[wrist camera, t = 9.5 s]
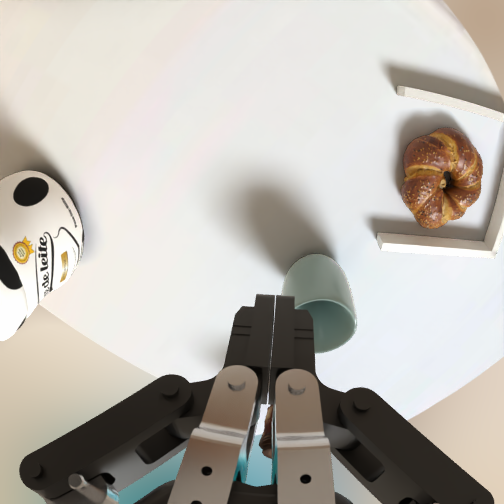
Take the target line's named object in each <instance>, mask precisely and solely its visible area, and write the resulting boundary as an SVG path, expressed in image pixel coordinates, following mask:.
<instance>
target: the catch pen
mask: <svg viewBox="0 0 504 504" xmlns="http://www.w3.org/2000/svg"><path fill="white" fill-rule="evenodd" d="M397 95H400V96H405V97H410V98H415V99H420V100H424V101H429V102H433V103H438V104H442V105H446V106H450V107H454V108H458V109H461V110H465V111H469V112H472V113H476V114H479V115H482V116H486V117H489V118H492V119H495V120H498V121H501V122H504V113H501V112H498V111H495V110H492V109H489V108H486V107H483V106H480V105H477V104H473V103H470V102H467V101H463V100H460V99H456V98H452V97H448V96H445V95H441V94H436V93H432V92H428V91H424V90H419V89H414V88H409V87H404V86H397ZM503 234H504V169H503V173H502V178H501V182H500V186H499V191H498V195H497V198H496V202H495V206H494V210H493V213H492V217H491V220H490V223H489V227H488V230H487V233H486V236H485V239H484V242H482V241H472V240H462V239H451V238H440V237H429V236H417V235H405V234H392V233H380V232H378V234H377V239H376V240H377V242H378V245H379V247H380V249H381V251H393V252H408V253H423V254H438V255H452V256H467V257H481V258H494V259H495V257H496V254H497V251H498V249H499V246H500V243H501V240H502V237H503Z"/></svg>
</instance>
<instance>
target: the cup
mask: <svg viewBox="0 0 504 504" xmlns="http://www.w3.org/2000/svg"><path fill="white" fill-rule="evenodd" d="M281 295H283V296H295V309H302V310H308V312H309V313H310V315H311V317H312V318H313V327H314V330H313V332H314V349H315V353H324V352H328V351H332V350H334V349H336V348H339V347H340V346H342V345H344V344H345V343H346V342H348V341H349V340H350V339H351V337H352V336H353V335H354V333H355V331H356V328H357V317H356V310H355V305H354V300H353V296H352V292H351V288H350V285H349V282H348V280H347V277H346V275H345V273H344V271H343V270H342V268H341V267H340V265H339V264H338V263H337V262H336V261H335V260H333V259H332V258H330V257H328V256H326V255H323V254H310V255H307V256H304V257H302V258H301V259H299V260H297V261H296V262H295V263H294V264H293V265H292V266H291V267H290V269H289V270H288V272H287V274H286V276H285V279H284V283H283V287H282V293H281Z"/></svg>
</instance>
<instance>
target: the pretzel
mask: <svg viewBox="0 0 504 504" xmlns="http://www.w3.org/2000/svg"><path fill="white" fill-rule="evenodd" d="M403 165H404V171H405V174H406V177H405V178H404V182H405V183H404V184H403V185H402V188H401V193H402V194H401V195H402V199H403V201H404V203H405V205H406V206H407V207H408V208H409V209H410V210H411V212H412V213H413V215H414V217H415V219H416V221H417V222H418V223H419V224H420V225H421V226H423V227H424V228H430V229H434V228H438V227H441V226H443V225H444V224H445V223H447V221H448V220H456V219H459V218H460V217H462V216H463V214H464V213H465V211H466V209H467V207H470V206H471V205H472V204H473V203H475V201H476V200H477V199H478V198H479V195H480V193H481V178H482V174H483V166H482V159H481V157H480V154H479V153H478V152H477V150H476V148H475V147H474V146H473V145H472V144H471V142H470V141H469V139H468V138H467V137H466V136H465V135H464V134H463V133H461V132H460V131H458V130H456V129H453V128H448V127H447V128H440V129H439V128H438V130H436V131H434V132H433V133H431V134H430V135H424V136H421V137H419V138H416V139H415V140H413V141H412V142H411V143H410V144H409V145H408V147H407V149H406V151H405V154H404V158H403ZM445 171H449V173H450V176H451V178H452V179H451V180H450V182H449V184H448V186H446V179H445V176H444V175H443V174H444V172H445Z"/></svg>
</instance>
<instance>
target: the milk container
mask: <svg viewBox="0 0 504 504" xmlns="http://www.w3.org/2000/svg"><path fill="white" fill-rule="evenodd" d="M83 246H84V231H83V226H82V222H81V218H80V215H79V213H78V211H77V208H76V206H75V204H74V202H73V201H72V199H71V197H70V196H69V195H68V193H67V192H66V191H65V190H64V188H63V187H62V186H61V185H60V184H59V183H58V182H57V181H55V180H54V179H52V178H51V177H49V176H48V175H46V174H44V173H41V172H37V171H31V170H27V171H21V172H17V173H14V174H11V175H9V176H7V177H5V178H3V179H2V180H0V341H4V340H6V339H8V338H10V337H11V336H12V335H13V334H14V333H15V332H16V331H17V330H18V329H19V328H20V327H21V326H22V324H23V323H24V321H25V319H26V318H28V317H29V315H30V314H31V313H32V311H33V310H34V309H35V307H36V306H37V305H38V303H39V302H40V301H41V300H42V299H43V298H44V297H45V296H46V295H47V294H49V293H50V292H52V291H54V290H55V289H57V288H58V287H60V286H61V285H63V284H64V283H65V282H66V281H67V280H68V279H69V277H70V276H71V275H72V274H73V272H74V271H75V269H76V267H77V265H78V263H79V261H80V259H81V257H82V253H83Z"/></svg>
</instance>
